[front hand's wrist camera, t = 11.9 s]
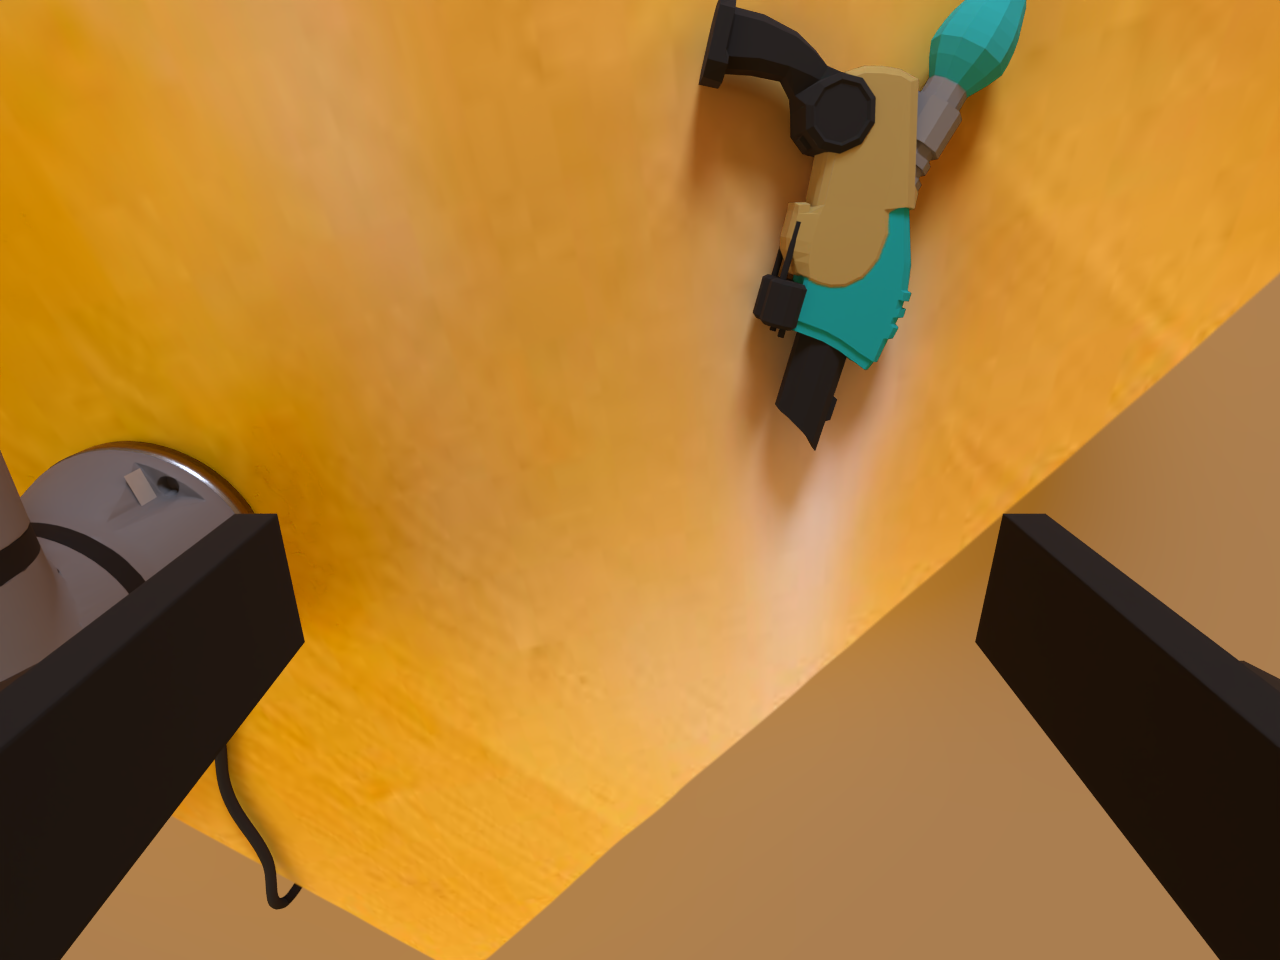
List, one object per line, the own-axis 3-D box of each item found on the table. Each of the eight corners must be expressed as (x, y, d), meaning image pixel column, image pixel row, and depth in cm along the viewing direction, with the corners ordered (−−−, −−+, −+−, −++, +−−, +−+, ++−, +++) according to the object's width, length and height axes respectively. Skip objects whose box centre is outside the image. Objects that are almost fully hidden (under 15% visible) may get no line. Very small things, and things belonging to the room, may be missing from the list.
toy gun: (626, 419, 39) (874, 472, 41) (750, -131, 30) (1063, -40, 32) (627, 399, 43) (851, 448, 45) (736, -90, 34) (1014, -11, 36)
